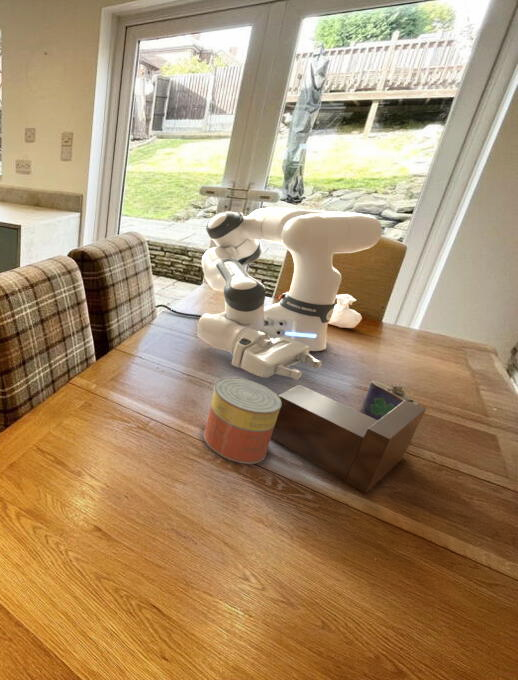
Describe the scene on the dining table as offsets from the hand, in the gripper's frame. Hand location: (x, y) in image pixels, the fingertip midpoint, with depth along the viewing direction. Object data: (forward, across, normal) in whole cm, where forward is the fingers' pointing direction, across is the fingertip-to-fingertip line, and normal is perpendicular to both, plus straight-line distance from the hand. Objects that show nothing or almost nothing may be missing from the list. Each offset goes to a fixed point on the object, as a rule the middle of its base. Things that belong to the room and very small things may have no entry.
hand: (310, 370), depth 95 cm
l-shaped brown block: (+13, +16, -6) cm, 21 cm away
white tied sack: (-15, -53, -6) cm, 55 cm away
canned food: (+2, +32, -6) cm, 33 cm away
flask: (+15, 0, -6) cm, 16 cm away
